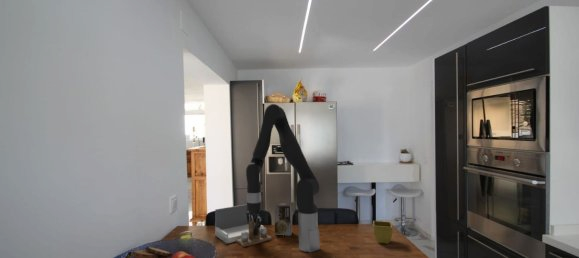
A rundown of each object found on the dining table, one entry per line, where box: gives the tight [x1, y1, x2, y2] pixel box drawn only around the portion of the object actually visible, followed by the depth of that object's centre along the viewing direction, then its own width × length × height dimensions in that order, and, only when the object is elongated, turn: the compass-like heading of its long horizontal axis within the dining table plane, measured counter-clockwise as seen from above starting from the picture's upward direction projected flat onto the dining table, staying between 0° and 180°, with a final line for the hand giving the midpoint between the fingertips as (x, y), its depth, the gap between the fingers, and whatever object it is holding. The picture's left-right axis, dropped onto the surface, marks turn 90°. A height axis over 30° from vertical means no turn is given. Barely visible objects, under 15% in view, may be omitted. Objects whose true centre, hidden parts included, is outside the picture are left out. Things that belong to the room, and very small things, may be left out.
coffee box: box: [273, 203, 293, 237], centre depth 144 cm, size 9×6×16 cm
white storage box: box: [214, 203, 264, 244], centre depth 144 cm, size 16×22×14 cm
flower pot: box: [373, 220, 393, 244], centre depth 130 cm, size 9×9×9 cm
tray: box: [236, 220, 272, 248], centre depth 134 cm, size 8×16×10 cm, turn 126°
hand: (254, 234), depth 134 cm, fingers closed on tray, 3 cm apart
